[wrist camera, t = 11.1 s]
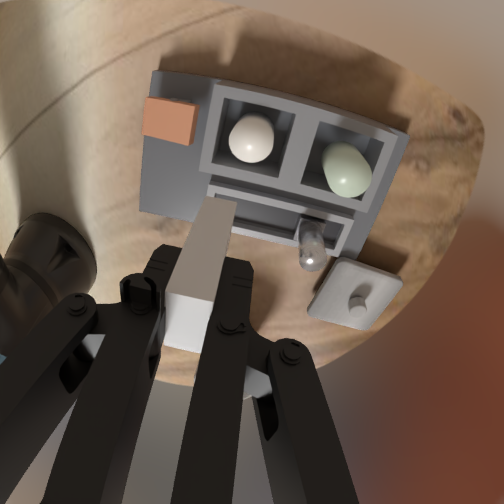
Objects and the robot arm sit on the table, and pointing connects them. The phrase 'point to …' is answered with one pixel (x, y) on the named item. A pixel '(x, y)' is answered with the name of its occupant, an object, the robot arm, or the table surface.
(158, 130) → the block
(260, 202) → the panel
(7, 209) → the table surface
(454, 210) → the table surface
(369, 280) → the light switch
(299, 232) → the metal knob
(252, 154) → the white button
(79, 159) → the table surface
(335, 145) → the sage button
